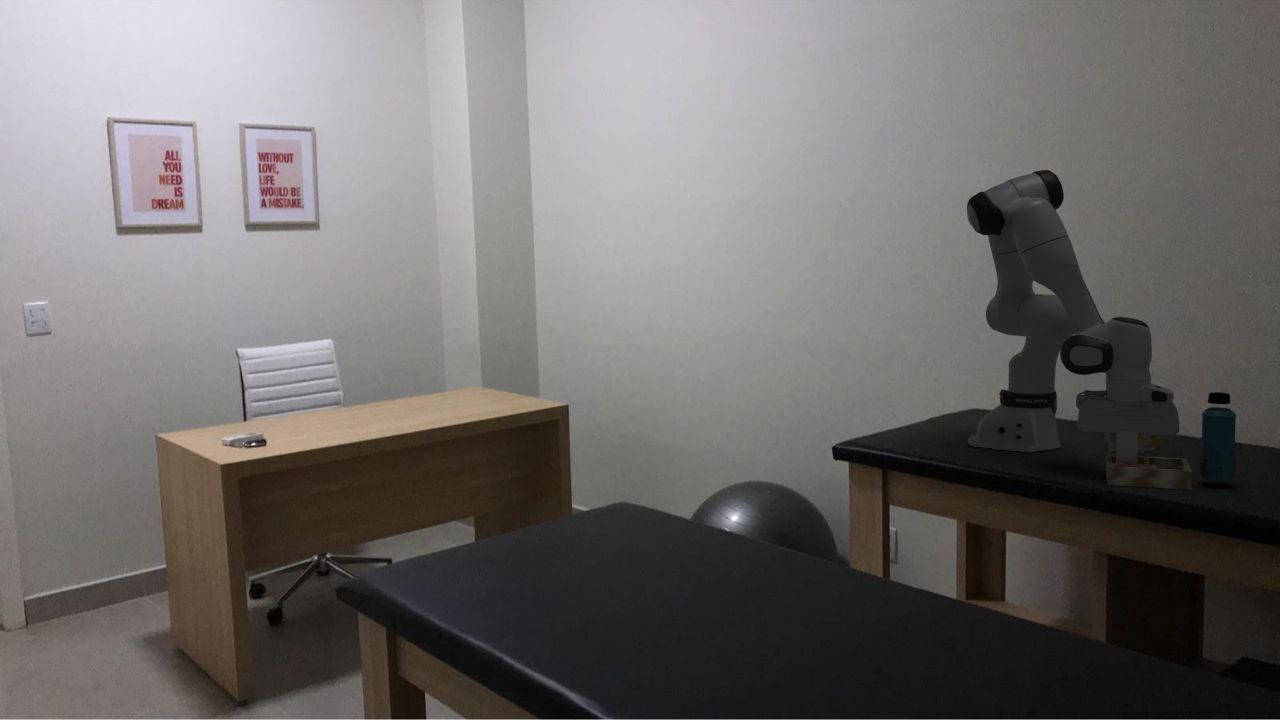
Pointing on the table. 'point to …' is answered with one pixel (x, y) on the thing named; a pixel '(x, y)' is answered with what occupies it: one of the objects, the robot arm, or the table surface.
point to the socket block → (1150, 472)
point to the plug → (1126, 447)
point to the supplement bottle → (1151, 444)
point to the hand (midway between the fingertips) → (1126, 453)
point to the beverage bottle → (1218, 440)
